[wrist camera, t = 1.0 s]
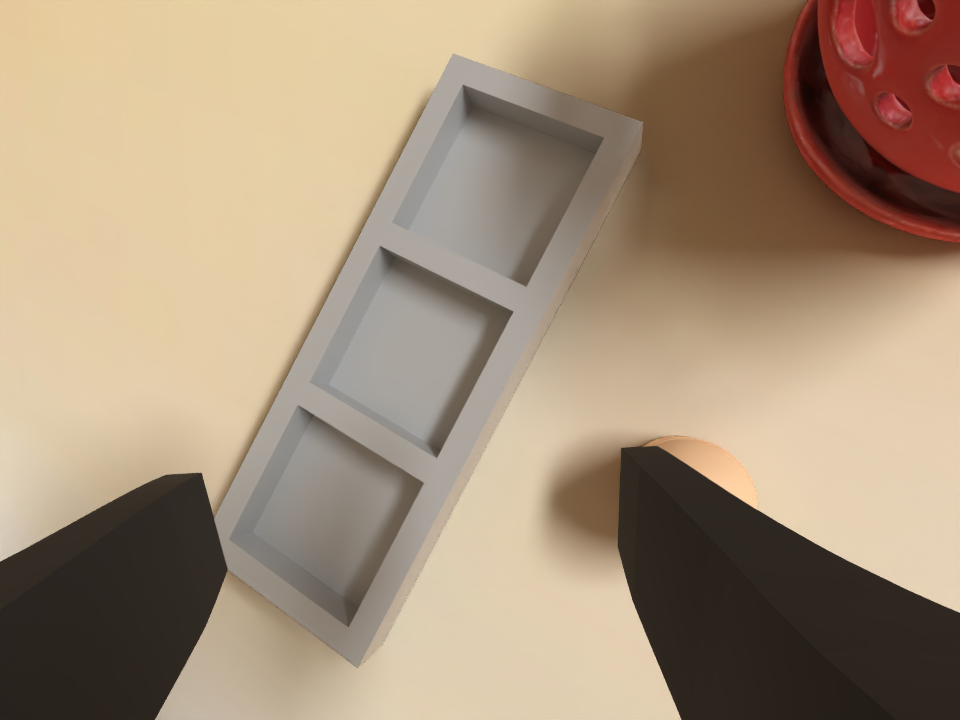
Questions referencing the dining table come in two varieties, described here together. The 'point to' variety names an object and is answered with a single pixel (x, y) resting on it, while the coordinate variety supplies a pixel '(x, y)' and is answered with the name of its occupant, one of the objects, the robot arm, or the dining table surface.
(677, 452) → the egg
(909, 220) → the plant pot
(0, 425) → the dining table surface
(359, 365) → the grey compartment tray
